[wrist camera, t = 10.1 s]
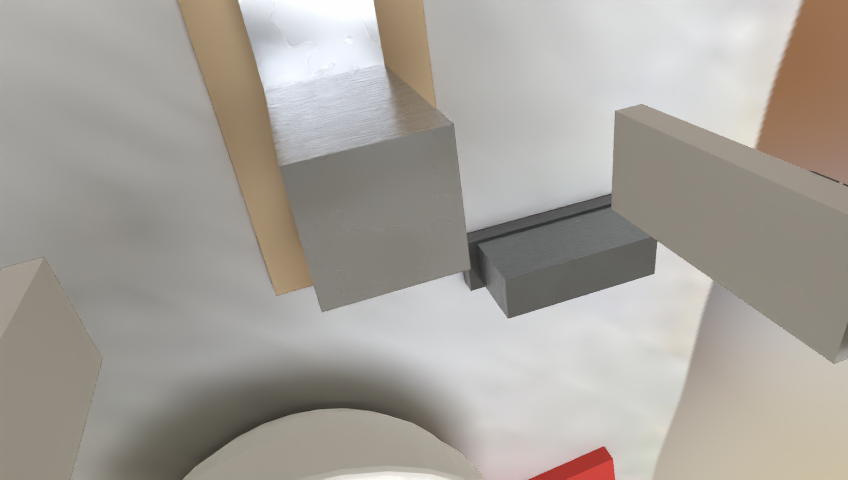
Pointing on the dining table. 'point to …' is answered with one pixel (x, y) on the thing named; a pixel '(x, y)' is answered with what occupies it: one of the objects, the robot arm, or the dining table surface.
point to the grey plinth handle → (558, 256)
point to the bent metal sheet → (356, 152)
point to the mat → (249, 120)
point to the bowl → (336, 451)
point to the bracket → (583, 468)
